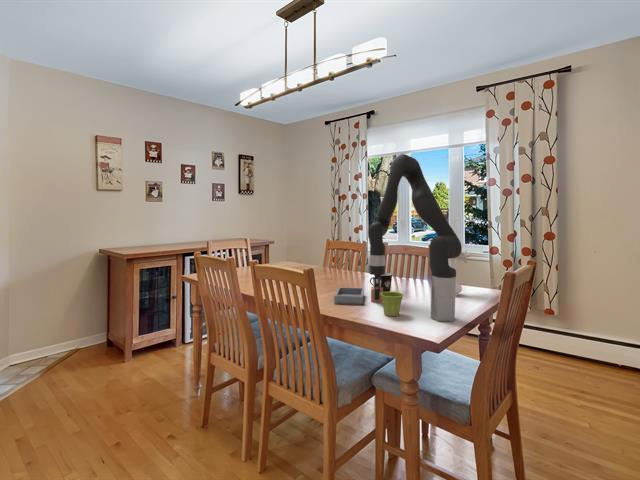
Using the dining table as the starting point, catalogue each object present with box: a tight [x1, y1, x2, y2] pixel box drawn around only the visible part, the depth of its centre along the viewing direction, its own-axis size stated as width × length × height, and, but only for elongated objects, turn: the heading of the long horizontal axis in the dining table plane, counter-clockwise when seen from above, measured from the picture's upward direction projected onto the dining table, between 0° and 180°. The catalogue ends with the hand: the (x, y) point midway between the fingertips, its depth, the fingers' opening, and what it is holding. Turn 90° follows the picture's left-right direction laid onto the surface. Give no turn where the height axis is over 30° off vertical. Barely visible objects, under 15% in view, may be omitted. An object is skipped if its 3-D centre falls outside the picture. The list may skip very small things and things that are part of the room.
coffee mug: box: [369, 272, 393, 292], centre depth 185 cm, size 12×9×10 cm
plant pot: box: [380, 291, 404, 317], centre depth 147 cm, size 9×9×9 cm
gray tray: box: [333, 286, 365, 306], centre depth 172 cm, size 18×13×4 cm
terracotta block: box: [370, 286, 383, 303], centre depth 170 cm, size 6×6×6 cm
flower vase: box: [448, 248, 472, 297], centre depth 181 cm, size 13×18×25 cm
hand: (376, 297), depth 170 cm, fingers open, 8 cm apart
